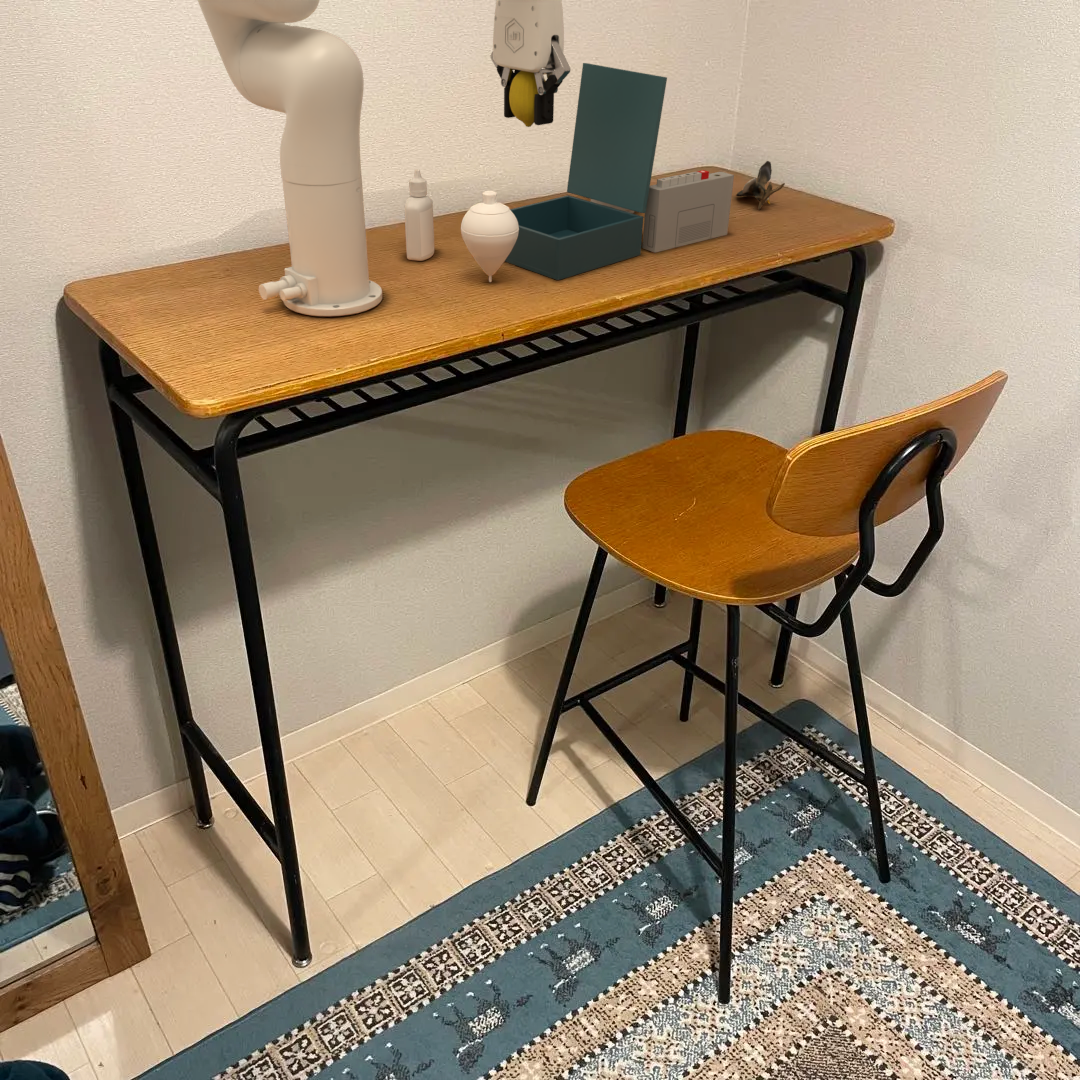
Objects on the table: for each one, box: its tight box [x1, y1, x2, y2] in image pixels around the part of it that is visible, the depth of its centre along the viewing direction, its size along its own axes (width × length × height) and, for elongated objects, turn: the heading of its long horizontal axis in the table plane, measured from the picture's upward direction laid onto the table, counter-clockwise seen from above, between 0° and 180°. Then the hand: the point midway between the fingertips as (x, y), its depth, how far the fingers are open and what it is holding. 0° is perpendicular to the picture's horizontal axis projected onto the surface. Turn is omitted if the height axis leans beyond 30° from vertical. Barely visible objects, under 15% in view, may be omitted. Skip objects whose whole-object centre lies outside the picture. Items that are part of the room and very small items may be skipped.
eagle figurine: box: [735, 160, 786, 211], centre depth 176 cm, size 8×7×9 cm
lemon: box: [509, 71, 546, 128], centre depth 147 cm, size 6×6×8 cm
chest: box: [504, 194, 644, 281], centre depth 151 cm, size 17×15×6 cm
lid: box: [566, 62, 668, 214], centre depth 150 cm, size 18×15×1 cm
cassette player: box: [641, 169, 735, 253], centre depth 156 cm, size 16×3×10 cm, turn 129°
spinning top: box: [460, 190, 519, 283], centre depth 138 cm, size 8×8×12 cm
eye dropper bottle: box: [404, 169, 436, 262], centre depth 147 cm, size 4×6×12 cm
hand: (528, 118), depth 149 cm, fingers closed on lemon, 5 cm apart
